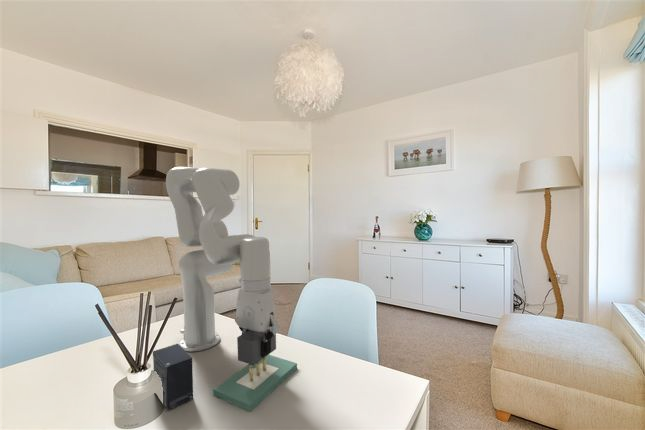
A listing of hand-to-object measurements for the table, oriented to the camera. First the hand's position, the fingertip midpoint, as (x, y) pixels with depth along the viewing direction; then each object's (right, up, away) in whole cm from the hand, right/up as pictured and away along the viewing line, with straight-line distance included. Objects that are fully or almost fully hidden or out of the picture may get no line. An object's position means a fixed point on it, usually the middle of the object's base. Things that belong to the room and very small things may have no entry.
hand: (257, 351), depth 75 cm
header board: (0, -8, 0) cm, 8 cm away
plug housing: (0, -1, 0) cm, 1 cm away
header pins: (0, -6, 0) cm, 6 cm away
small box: (-20, -9, -5) cm, 22 cm away
